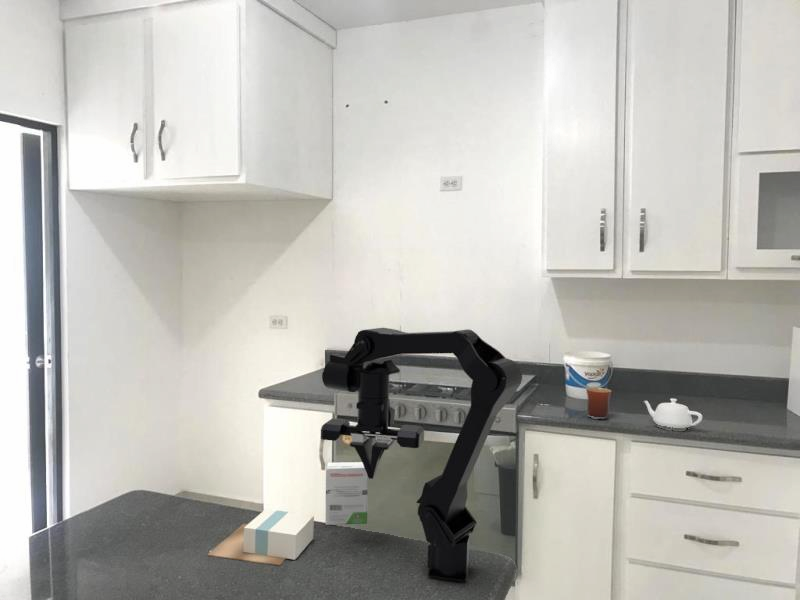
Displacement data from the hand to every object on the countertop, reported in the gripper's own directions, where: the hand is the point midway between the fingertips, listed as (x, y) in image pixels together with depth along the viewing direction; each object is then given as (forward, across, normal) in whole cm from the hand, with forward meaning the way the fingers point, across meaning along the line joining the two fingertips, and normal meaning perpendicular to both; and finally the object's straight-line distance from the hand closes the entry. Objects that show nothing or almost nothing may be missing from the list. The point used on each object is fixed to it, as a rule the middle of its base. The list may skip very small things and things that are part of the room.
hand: (371, 478), depth 118 cm
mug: (+13, -50, -124) cm, 134 cm away
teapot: (+13, -74, -116) cm, 138 cm away
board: (+13, +20, +5) cm, 24 cm away
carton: (+11, +11, +5) cm, 16 cm away
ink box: (+13, +8, -10) cm, 18 cm away
